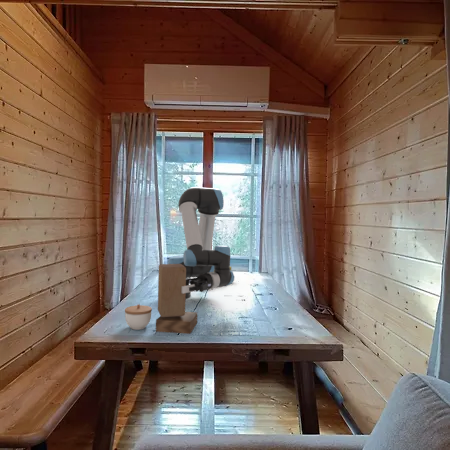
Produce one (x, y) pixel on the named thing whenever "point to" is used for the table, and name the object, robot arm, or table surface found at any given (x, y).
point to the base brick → (177, 323)
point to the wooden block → (171, 290)
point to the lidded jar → (138, 316)
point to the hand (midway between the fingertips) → (171, 287)
